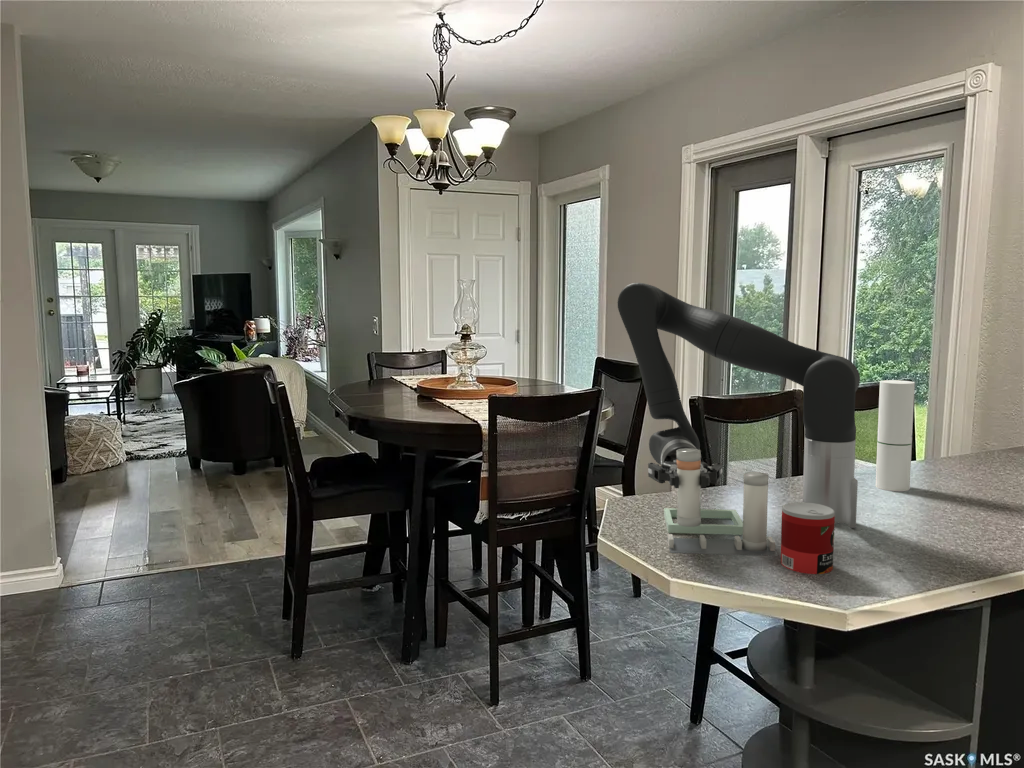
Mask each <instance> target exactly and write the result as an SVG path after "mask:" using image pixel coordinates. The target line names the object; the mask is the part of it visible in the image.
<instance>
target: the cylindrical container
mask: <svg viewBox="0 0 1024 768" xmlns="http://www.w3.org/2000/svg"><path fill="white" fill-rule="evenodd" d="M914 403H915V381H911V380H902V379H901V380H900V379H899V380H897V379H896V380H895V379H890V380H889V379H886V380H879V396H878V420H877V443H876V467H875V469H876V470H875V487H876V488H877V489H879V490H882V491H889V492H908V491H910V487H911V472H912V471H911V467H912V465H911V464H912V448H913V425H914V424H913V423H914Z"/></svg>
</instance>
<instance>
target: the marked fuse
mask: <svg viewBox="0 0 1024 768" xmlns="http://www.w3.org/2000/svg"><path fill="white" fill-rule="evenodd" d="M701 452H702V450H701V449H699V450H698V449H691V448H684V449H678V450H677V473H678V476H679V488H676V494H677V495H676V503H677V504H676V508H677V517H676V523H677V524H678V525H681V526H686V527H695V526H699V525H701V524H702V518H701V509H702V507H701V500H702V499H701V486H700V468H701V457H702V454H701Z"/></svg>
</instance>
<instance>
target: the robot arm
mask: <svg viewBox="0 0 1024 768" xmlns="http://www.w3.org/2000/svg"><path fill="white" fill-rule="evenodd" d="M617 309H618V313H619V315H620V318H621V321H622V323H623V326H624V328H625V330H626V333H627V335H628V338H629V340H630V343H631V347H632V348H633V349H632V350H633V352H634V355H635V358H636V361H637V365H638V368H639V372H640V375H641V379H642V384H643V388H644V394H645V397H646V402H647V406H648V409H649V414H650V416H651V418H652V419H653V420H668V421H669V420H671V421H674V422H675V423H676V424H677V427H674V428H669V429H663V430H659V431H657V432H654V433H653V434H652V435H651V436H650V438H649V442H648V447H649V453H650V455H651V457H652V459H653V460H654V461H655V462H656V463H655V462H648V464H647V465H648V466H647V468H648V469H647V472H648V474H647V475H648V476H647V477H648V478H650V479H652V480H653V481H656V482H657V483H659V484H665V483H666V482H668V484H669V485H670V486H671V487H674V489H677V488H679V476H678V473H677V450H678V449H684V448H691V449H698V450H701V449H700V447H701V444H700V440H699V437H698V435H697V433H696V432H695V430H694V428H693V426H692V425H691V423H690V420H688V417H687V415H686V412H685V411H684V410H685V409H684V407H683V404H682V401H681V400H682V399H681V395H680V392H679V388H678V383H677V380H676V377H675V374H674V373H675V372H673V369H672V366H671V363H670V362H669V360H668V357H667V356H666V353H665V351H664V348H663V345H662V343H661V339H660V336H659V335H660V334H659V331H663V332H666V333H670V334H673V335H675V336H678V337H680V338H682V339H684V340H685V341H687V342H688V343H690V344H691V345H693V346H694V347H696V348H698V349H699V350H701V351H703V352H705V353H706V354H708V355H710V356H713V357H714V358H716V359H718V360H720V361H723V362H727V363H729V364H731V365H733V366H737V367H739V368H742V369H743V368H744V369H747V370H751V371H756V372H761V373H766V374H771V375H774V376H777V377H782V378H784V379H786V380H789V381H791V382H793V383H795V384H798V385H799V386H802V389H803V390H802V395H803V396H802V421H803V427H804V447H803V448H804V449H803V451H804V452H803V477H802V479H803V480H802V481H803V482H802V483H803V485H802V502H806V503H815V504H820V505H824V506H827V507H829V508H831V509H833V510H834V514H835V524H846V525H847V526H848V527H849V528H850V529H856V528H857V510H858V509H857V508H858V486H859V485H858V484H859V483H858V479H857V478H855V468H856V467H855V466H856V464H855V463H856V439H857V425H856V419H855V415H856V412H855V411H856V392H857V390H858V389H859V387H860V383H861V375H860V373H859V369H858V368H857V367H856V365H855V364H854V363H853V362H852V361H851V360H850V359H848V358H846V357H844V356H840V355H835V354H831V353H828V352H823V351H820V350H816V349H814V348H809V347H806V346H803V345H800V344H797V343H795V342H792V341H790V340H788V339H787V338H784V337H782V336H780V335H778V334H777V333H773V332H771V331H769V330H767V329H765V328H762V327H760V326H758V325H756V324H753V323H751V322H748V321H746V320H743V319H741V318H739V317H735V316H733V315H729V314H726V313H723V312H720V311H717V310H713V309H709V308H704V307H701V306H700V307H699V306H696V305H693V304H691V303H688V302H685V301H683V300H681V299H679V298H677V297H675V296H673V295H671V294H670V293H667V292H666V291H664V290H662V289H661V288H658V287H657V286H655V285H653V284H652V285H651V284H649V283H642V282H633V283H630V284H627V285H626V286H625V287H624V288H623V289H622V290H621V291H620V292H619V293H618V297H617ZM658 330H659V331H658ZM722 478H723V463H722V462H718V461H717V462H716V463H712V464H711V466H710V465H708V463H706V462H704V460H703V458H702V456H701V468H700V489H707V487H710V484H718V483H719V481H720V480H721V479H722Z"/></svg>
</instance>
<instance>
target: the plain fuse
mask: <svg viewBox="0 0 1024 768" xmlns="http://www.w3.org/2000/svg"><path fill="white" fill-rule="evenodd" d="M769 476H770V475H769V474H768V473H765V472H761V471H746V472H744V473H743V480H742V482H743V496H742V497H743V499H742V500H743V501H742V502H743V503H742V506H743V507H742V522H743V535H742V539H741V540H742V547H743V548H744V549H746V550H750V551H764V550H766V549H767V537H768V503H769V501H768V500H769V496H768V495H769V494H768V493H769Z"/></svg>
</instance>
